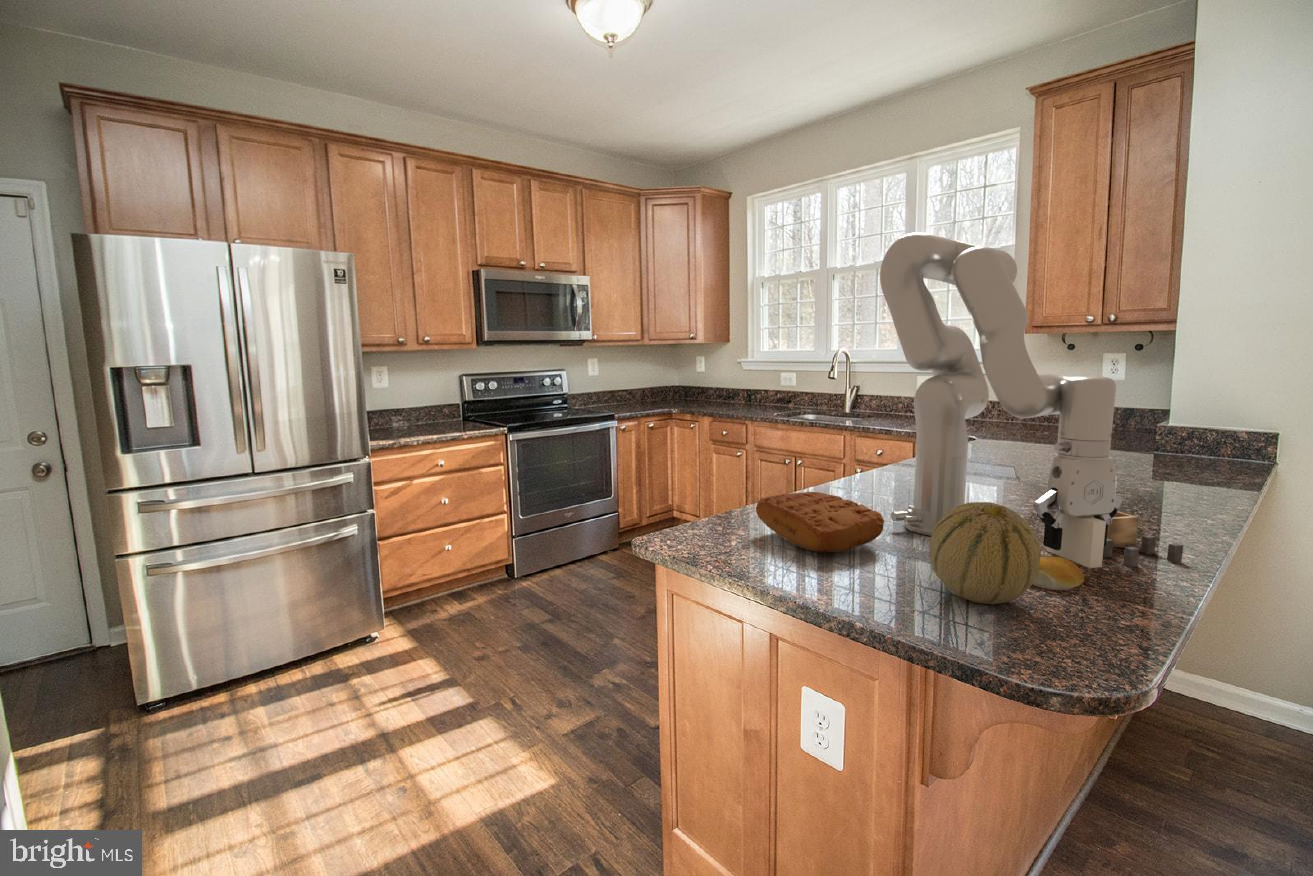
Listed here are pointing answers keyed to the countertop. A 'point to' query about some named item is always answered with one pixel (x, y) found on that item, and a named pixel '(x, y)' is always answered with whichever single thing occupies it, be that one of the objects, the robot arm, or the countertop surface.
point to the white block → (1082, 540)
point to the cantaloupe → (984, 552)
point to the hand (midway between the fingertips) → (1074, 545)
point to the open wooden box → (1134, 540)
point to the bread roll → (1057, 574)
